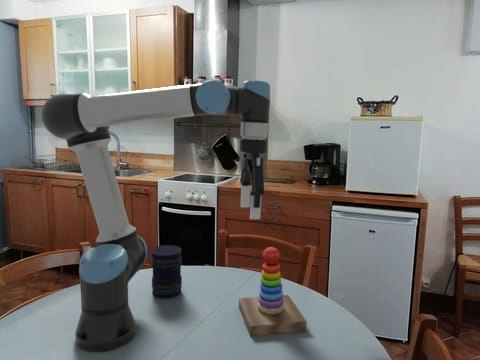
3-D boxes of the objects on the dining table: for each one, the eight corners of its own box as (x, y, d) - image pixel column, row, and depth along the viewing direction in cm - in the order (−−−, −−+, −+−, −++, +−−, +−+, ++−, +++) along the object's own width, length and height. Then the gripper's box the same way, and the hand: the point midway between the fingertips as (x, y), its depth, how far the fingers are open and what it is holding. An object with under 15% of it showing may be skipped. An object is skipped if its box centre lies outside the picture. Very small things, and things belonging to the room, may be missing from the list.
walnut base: (250, 336, 99) (250, 326, 99) (238, 307, 114) (239, 298, 114) (306, 331, 102) (306, 321, 102) (287, 303, 118) (288, 294, 117)
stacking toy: (283, 303, 112) (286, 244, 109) (284, 316, 104) (287, 253, 101) (257, 301, 112) (259, 242, 109) (256, 314, 104) (258, 252, 102)
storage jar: (185, 286, 128) (185, 245, 126) (177, 300, 118) (177, 256, 116) (157, 285, 129) (156, 244, 127) (147, 298, 119) (146, 254, 117)
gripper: (279, 141, 91) (274, 224, 94) (256, 136, 115) (252, 203, 118) (250, 140, 89) (245, 224, 92) (233, 135, 113) (229, 202, 117)
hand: (249, 212), depth 105 cm, fingers open, 13 cm apart
